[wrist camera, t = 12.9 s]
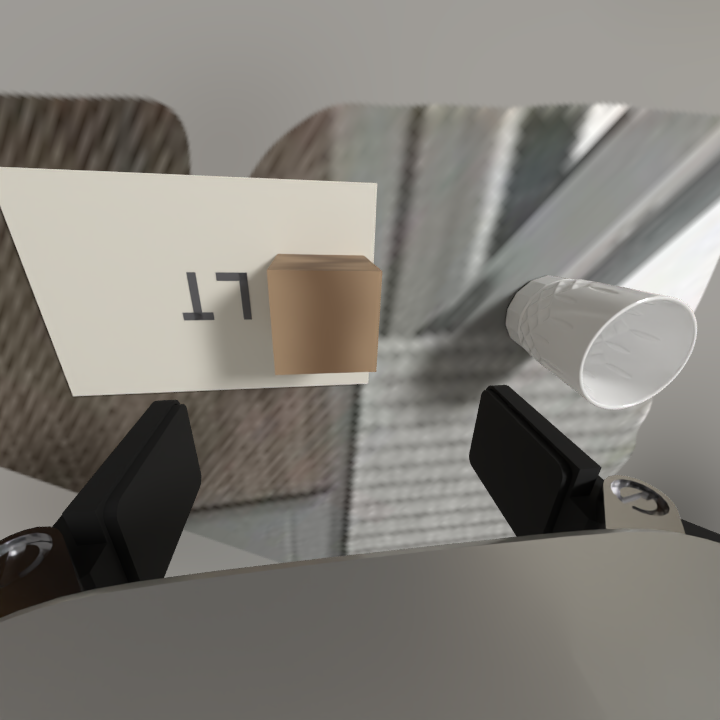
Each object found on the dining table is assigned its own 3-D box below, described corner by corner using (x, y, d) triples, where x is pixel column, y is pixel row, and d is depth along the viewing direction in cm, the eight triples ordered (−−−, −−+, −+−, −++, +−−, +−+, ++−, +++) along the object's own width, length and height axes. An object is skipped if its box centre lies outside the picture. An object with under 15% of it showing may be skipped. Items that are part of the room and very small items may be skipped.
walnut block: (363, 255, 25) (382, 271, 19) (360, 334, 28) (376, 371, 22) (277, 253, 24) (266, 270, 18) (283, 335, 27) (275, 375, 21)
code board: (375, 183, 24) (377, 183, 23) (367, 380, 30) (368, 383, 30) (-7, 167, 20) (-16, 166, 20) (77, 392, 27) (72, 396, 26)
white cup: (530, 253, 28) (636, 276, 19) (598, 287, 30) (722, 321, 21) (482, 337, 30) (555, 392, 21) (548, 362, 32) (639, 421, 23)
